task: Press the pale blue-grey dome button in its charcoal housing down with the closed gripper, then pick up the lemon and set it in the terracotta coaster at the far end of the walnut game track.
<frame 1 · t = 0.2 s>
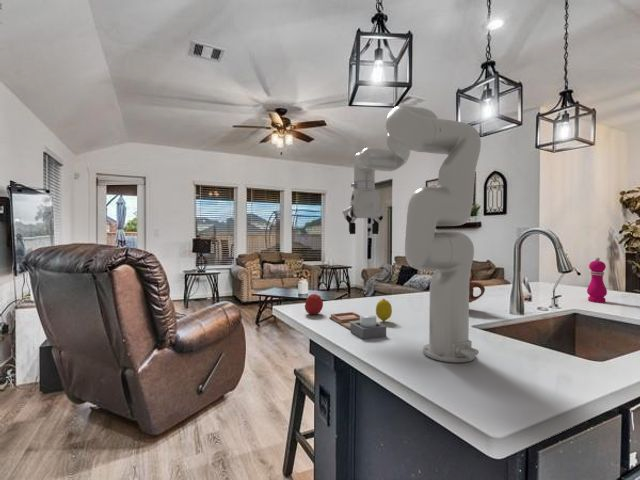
hand: (364, 234, 134), 31 cm above the worktop, tool pointing down, fingers open, 9 cm apart
dome: (368, 323, 112), point 4 cm above the worktop, slide at 0.0 cm
tomato: (313, 314, 140), on the worktop
housing: (368, 334, 112), on the worktop
lemon: (383, 322, 128), on the worktop
pepper mill: (596, 301, 165), on the worktop
brown mug: (458, 309, 148), on the worktop
board: (353, 323, 126), on the worktop
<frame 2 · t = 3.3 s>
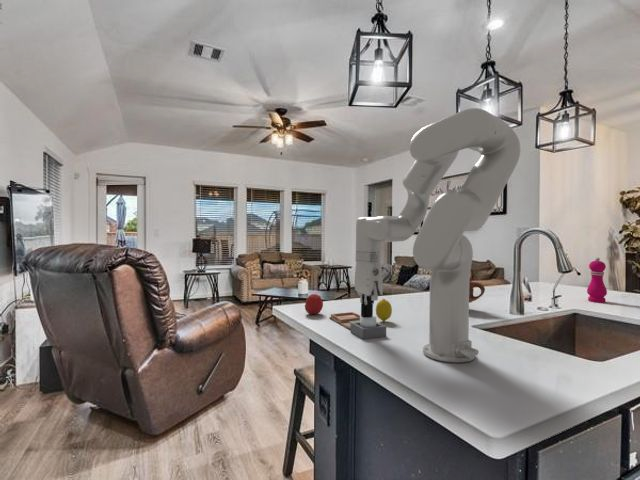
hand: (366, 316, 113), 5 cm above the worktop, tool pointing down, fingers closed
dome: (368, 323, 112), point 3 cm above the worktop, slide at 0.2 cm, touching gripper
everything else where it was.
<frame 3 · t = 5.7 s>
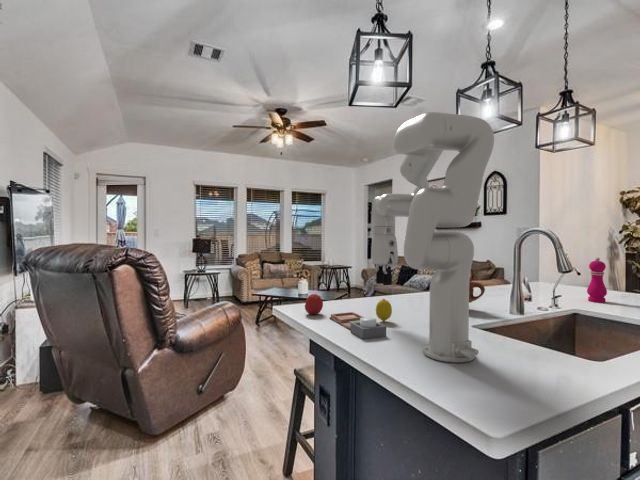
hand: (383, 283, 128), 13 cm above the worktop, tool pointing down, fingers open, 3 cm apart
dome: (368, 325, 112), point 3 cm above the worktop, slide at 0.9 cm
everything else where it was.
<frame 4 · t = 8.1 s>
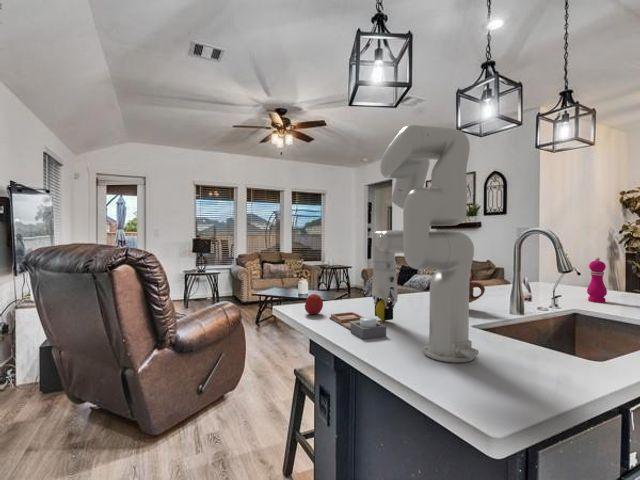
hand: (383, 317, 128), 2 cm above the worktop, tool pointing down, fingers closed on lemon, 5 cm apart
lemon: (383, 322, 128), on the worktop, touching gripper
everything else where it was.
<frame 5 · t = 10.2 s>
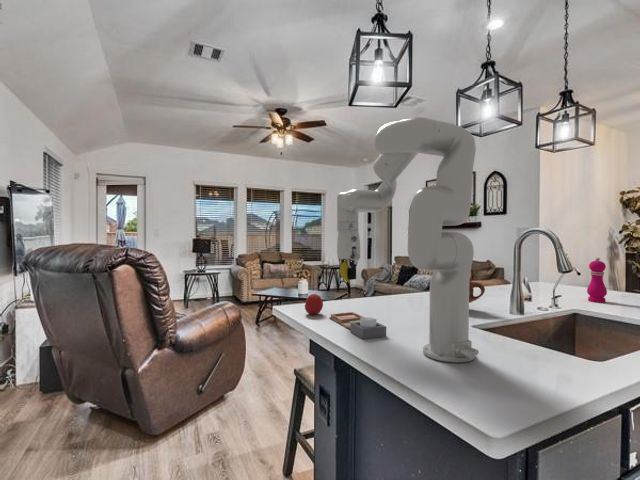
hand: (347, 277, 130), 15 cm above the worktop, tool pointing down, fingers closed on lemon, 5 cm apart
lemon: (347, 282, 130), point 13 cm above the worktop, touching gripper
everything else where it was.
when the fingers open (3 cm above the worktop, at t = 12.7 s): lemon stays where it is, resting on board.
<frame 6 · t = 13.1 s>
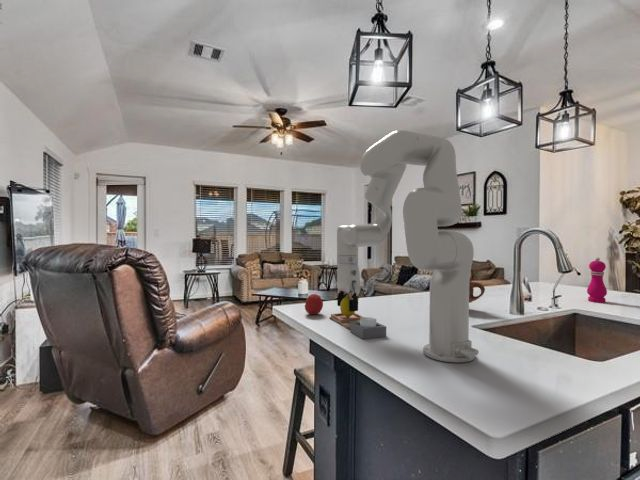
hand: (347, 308, 130), 4 cm above the worktop, tool pointing down, fingers open, 9 cm apart
lemon: (347, 318, 130), point 1 cm above the worktop, touching board
everything else where it was.
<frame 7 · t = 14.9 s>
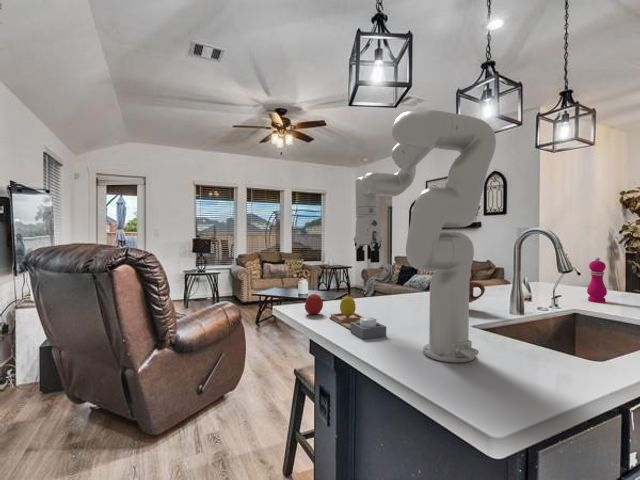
hand: (367, 261, 127), 21 cm above the worktop, tool pointing down, fingers open, 9 cm apart
nothing on the worktop moved.
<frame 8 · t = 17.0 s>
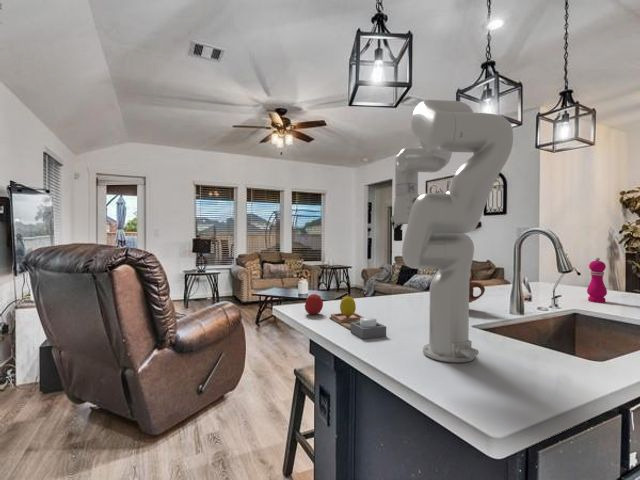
hand: (406, 241, 124), 28 cm above the worktop, tool pointing down, fingers open, 9 cm apart
nothing on the worktop moved.
at the end: lemon 0.2 cm from the target spot on the board, point 0.6 cm above the board's base; dome slide at 0.9 cm; the gripper is holding nothing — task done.
